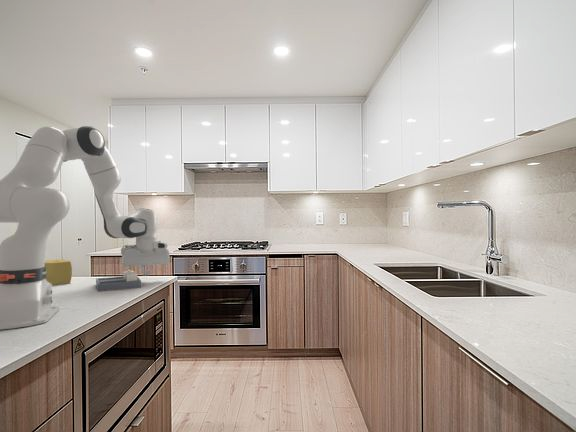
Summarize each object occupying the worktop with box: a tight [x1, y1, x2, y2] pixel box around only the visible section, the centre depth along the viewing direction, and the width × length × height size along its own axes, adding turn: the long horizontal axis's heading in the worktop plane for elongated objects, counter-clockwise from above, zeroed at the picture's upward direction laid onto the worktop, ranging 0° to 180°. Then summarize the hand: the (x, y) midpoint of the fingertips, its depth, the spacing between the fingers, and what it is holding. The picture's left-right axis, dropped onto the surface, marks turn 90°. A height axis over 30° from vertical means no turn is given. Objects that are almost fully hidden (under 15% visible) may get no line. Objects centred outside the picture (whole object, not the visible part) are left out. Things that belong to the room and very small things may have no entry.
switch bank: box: [95, 275, 142, 292], centre depth 149 cm, size 14×16×3 cm
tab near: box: [126, 273, 138, 282], centre depth 148 cm, size 3×4×4 cm
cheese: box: [45, 258, 73, 286], centre depth 153 cm, size 10×11×10 cm
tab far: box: [123, 269, 136, 278], centre depth 155 cm, size 3×4×4 cm
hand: (146, 275), depth 159 cm, fingers closed
